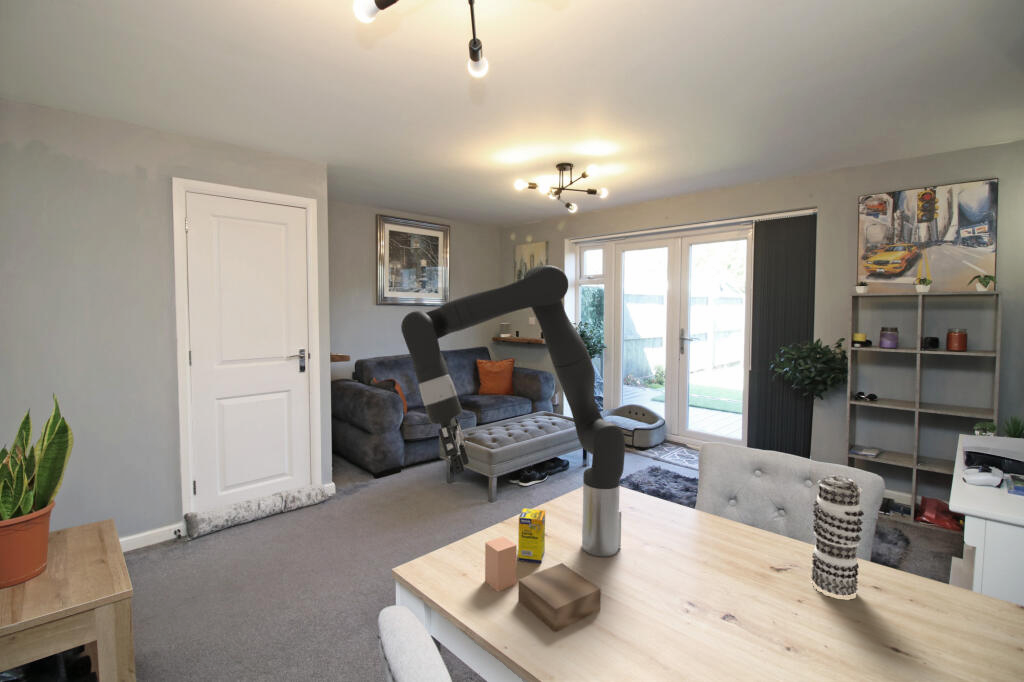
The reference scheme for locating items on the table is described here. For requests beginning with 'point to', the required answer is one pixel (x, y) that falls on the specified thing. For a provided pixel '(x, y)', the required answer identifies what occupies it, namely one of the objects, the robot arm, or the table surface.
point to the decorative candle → (836, 535)
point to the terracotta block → (500, 563)
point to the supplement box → (531, 535)
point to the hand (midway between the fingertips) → (462, 468)
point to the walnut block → (559, 596)
